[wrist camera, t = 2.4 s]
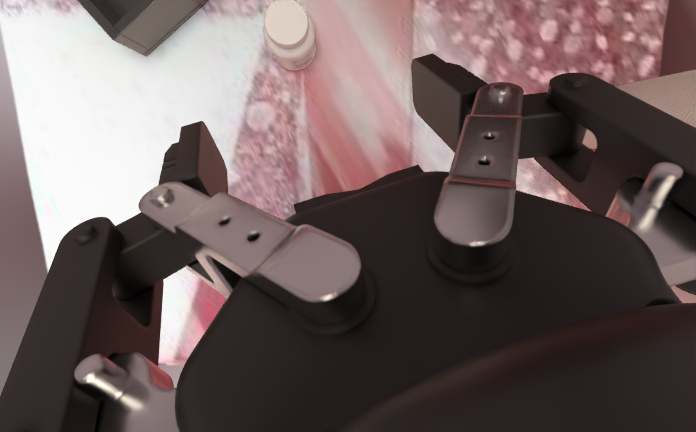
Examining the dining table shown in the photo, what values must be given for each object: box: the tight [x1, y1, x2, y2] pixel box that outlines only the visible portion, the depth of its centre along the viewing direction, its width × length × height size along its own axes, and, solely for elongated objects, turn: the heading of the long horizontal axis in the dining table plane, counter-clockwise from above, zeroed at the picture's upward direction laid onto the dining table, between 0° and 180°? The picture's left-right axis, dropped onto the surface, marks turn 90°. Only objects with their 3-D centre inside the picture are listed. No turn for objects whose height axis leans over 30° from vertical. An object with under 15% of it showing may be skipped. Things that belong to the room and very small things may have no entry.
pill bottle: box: [264, 0, 316, 70], centre depth 32 cm, size 4×4×8 cm
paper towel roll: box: [582, 70, 696, 149], centre depth 28 cm, size 7×6×21 cm
